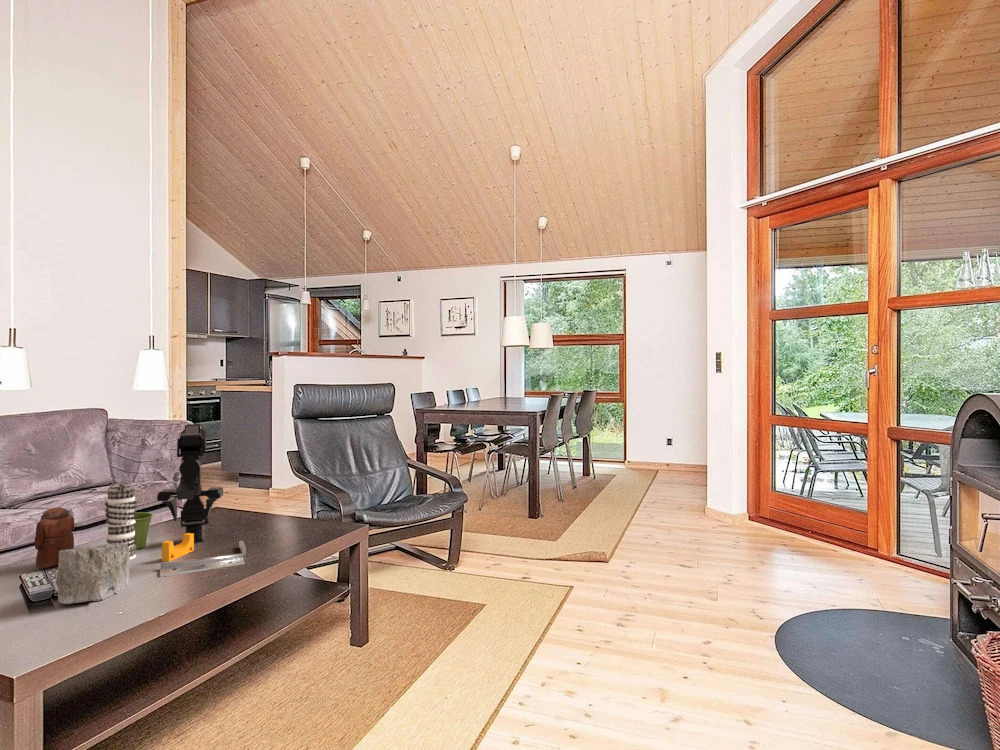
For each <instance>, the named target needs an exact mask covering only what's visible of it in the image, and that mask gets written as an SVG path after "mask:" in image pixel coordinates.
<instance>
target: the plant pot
mask: <svg viewBox="0 0 1000 750" xmlns="http://www.w3.org/2000/svg"><path fill="white" fill-rule="evenodd" d="M134 516H136V518H135V519H134V520H135V521H136V523H134V530H135V536H136V538H135V539H134V540H135V541H136V543H135V544H134V545H135V546H136V549H135V550H136V551H137V550H138V549H140V548H141V549H143V548H144V547H146V545H147V539H148V535H149V528H150V523H151V521H152V517H153V516H154V513H152V512H136V514H135V515H134Z"/></svg>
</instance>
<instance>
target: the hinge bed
mask: <svg viewBox="0 0 1000 750" xmlns="http://www.w3.org/2000/svg"><path fill="white" fill-rule="evenodd" d="M238 547H239V551H240V553H235V554H225V555H218V556H212V557H211V556H210V557H202V558H201V557H200V558H194V559H187V560H180V561H170V562H164V563H163V562H162V563H160V569H159V570H160V571H159V572H160V573H159V577H160V578H163V577H164V576H165V577H171V576H172V577H173V576H178V574H179V575H185V574H191V573H196V572H197V571H198V572H203V571H208V570H217V569H221V568H228V567H236V566H240V565H246V564H245V563H246V562H245V560H244V556H247V547H246V544H245V542H244V540H243V539H242V540H239V545H238Z"/></svg>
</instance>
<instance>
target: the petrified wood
mask: <svg viewBox="0 0 1000 750" xmlns="http://www.w3.org/2000/svg"><path fill="white" fill-rule="evenodd" d="M58 556H59V564H57V566H58V568H57V573H56V581H57V598H58V599H57V602H58V603H60V604H63V605H70V604H77V603H87V602H90V601H93V602H101V601H104V600H105V599H107V598H108V597H112V596H114V595H117V594H119V593H120V592H122V591H123V590H125V588H128V587H129V586H130V564H131V563H130V560H129V549H128V545H127V544H118V545H110V544H108V543H106V544H103V545H99V546H98V545H97V546H90V547H89V546H88V547H87V546H86V547H79V548H77V547H76V548H75V547H74V549H68V550H61V551H59V555H58Z"/></svg>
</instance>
